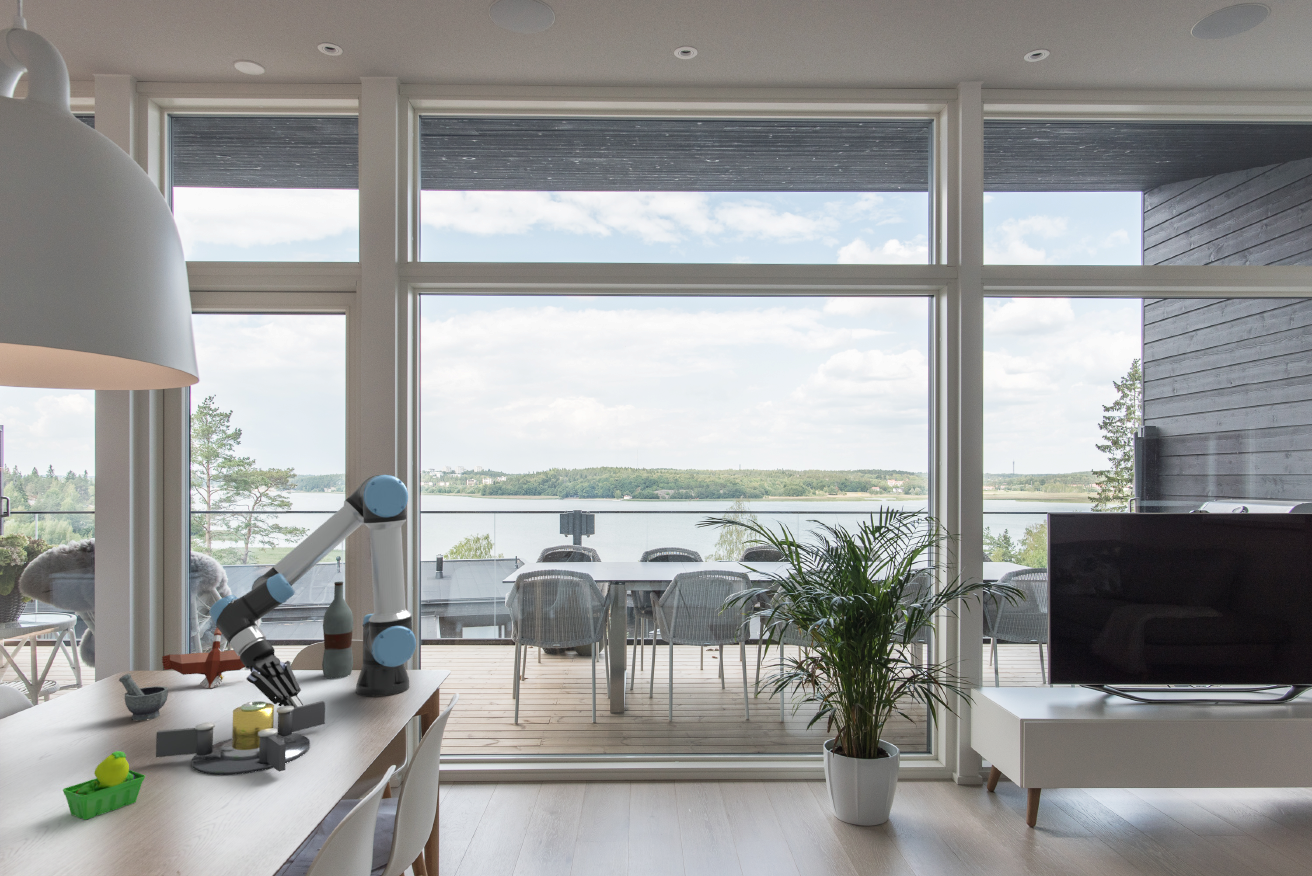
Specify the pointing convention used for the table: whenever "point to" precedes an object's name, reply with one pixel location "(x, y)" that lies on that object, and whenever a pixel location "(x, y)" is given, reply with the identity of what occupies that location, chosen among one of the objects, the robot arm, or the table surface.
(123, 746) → the table surface
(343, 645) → the bottle
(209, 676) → the decorative bird
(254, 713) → the tribrach
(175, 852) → the table surface
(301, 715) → the knob near arm
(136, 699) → the mortar and pestle
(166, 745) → the knob far
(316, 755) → the table surface
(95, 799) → the fruit basket
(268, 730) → the knob left
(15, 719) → the table surface
